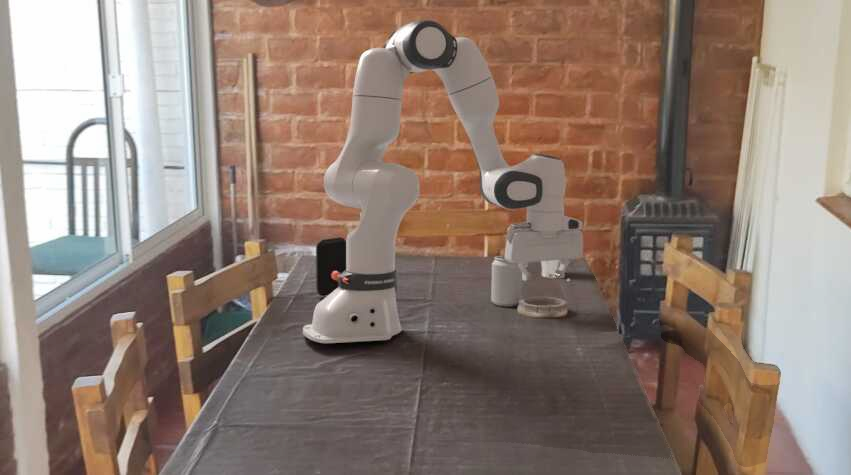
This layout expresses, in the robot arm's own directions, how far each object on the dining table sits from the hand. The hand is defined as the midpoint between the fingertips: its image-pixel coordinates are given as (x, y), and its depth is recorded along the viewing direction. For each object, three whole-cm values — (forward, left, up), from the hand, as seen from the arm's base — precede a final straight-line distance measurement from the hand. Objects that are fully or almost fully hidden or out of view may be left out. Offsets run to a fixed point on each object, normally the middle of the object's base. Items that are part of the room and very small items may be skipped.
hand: (543, 278), depth 218 cm
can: (-4, +10, -8) cm, 14 cm away
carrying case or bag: (-40, +38, -8) cm, 56 cm away
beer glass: (+20, +27, -8) cm, 35 cm away
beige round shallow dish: (0, 0, -8) cm, 8 cm away
